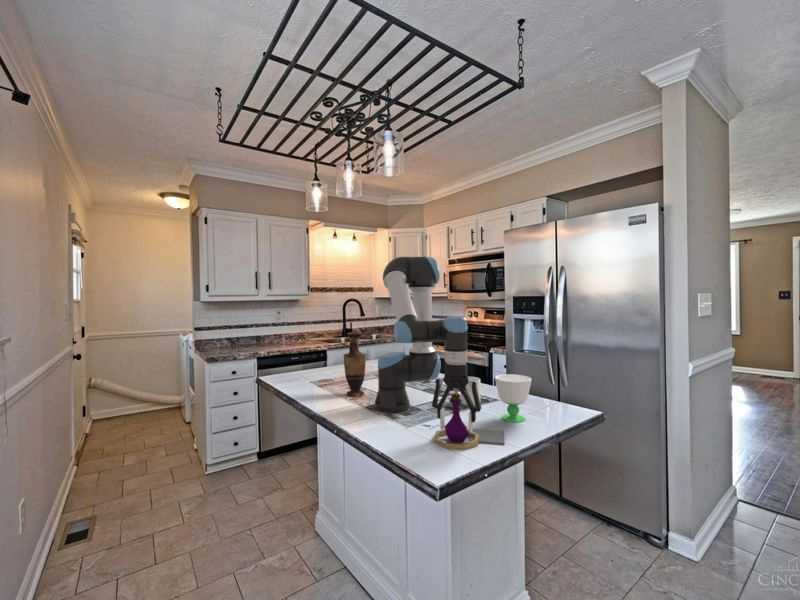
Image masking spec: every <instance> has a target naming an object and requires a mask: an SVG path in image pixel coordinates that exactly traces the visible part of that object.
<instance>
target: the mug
mask: <svg viewBox="0 0 800 600" xmlns="http://www.w3.org/2000/svg"><path fill="white" fill-rule="evenodd" d="M468 379H469V380H473V381H474V380H476V381H477V391H478V395H479V400H480V401H481V378H479V377H476V376H468ZM466 389H467V392H468V394H469V396H470V398H471V400H472V402H473V404H474V406H475V402H474V397H473V393H472V387H470V384H469V383H468V384H467V385H466ZM458 394H460V399H461V400H462V402H460V404H461V405H463V406H466V407H468V405H467V403H466V400H465V398H464V396H463V395H462V393H461V391H460V392H459V393H458ZM475 407H476V406H475Z"/></svg>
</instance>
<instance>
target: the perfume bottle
mask: <svg viewBox="0 0 800 600" xmlns="http://www.w3.org/2000/svg"><path fill="white" fill-rule="evenodd" d="M453 390H454V391H453V392H454V393H452V394H451V396H450V397H451V398H450V399H449V402H450V403H451V405H452V407H453V408H452V409H453V410H452V411H453V412H452V417H451V418H450V419H449V421H448V422H447V423H445V427H444V429H445V432H446V435H445V436H446V437H447V438H448V440H449V441H450V442H452V443H465V441H466V440H467V438H468V437H470V436H469V433H468V430H469V429H468V427H467V425H466V424H465V423H464V422H463V420H462V417H461V414H460V408H459V407H460V404H461V402H462V400H461V399H460V394H458V393H459V389H458V388H453ZM467 429H468V430H467Z"/></svg>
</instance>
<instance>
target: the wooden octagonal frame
mask: <svg viewBox="0 0 800 600" xmlns="http://www.w3.org/2000/svg"><path fill="white" fill-rule="evenodd" d="M467 430H468V433H469V428H467ZM471 435H472V436H474V437H475V439H474V440H473V441H470V440H469V441H466V442H449V441H446V440H444V439H442V438H440V437H443V436H447V435H446V432H445V428H443V430H442V429H439V430H437V431H435V434H434V436H433V442H434V443H435V444H436V445H439V446H440V447H442V448H444V449H453V450H463V451H464V450H467V449H471V448H474V447H478V446H479V443H478V441H479V434H477V433H475V432H473V431H472V432H471V433H469V436H468V437H470V438H471Z"/></svg>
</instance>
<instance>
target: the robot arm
mask: <svg viewBox="0 0 800 600" xmlns="http://www.w3.org/2000/svg"><path fill="white" fill-rule="evenodd" d="M440 279H441V277H440V267H439V264H438V262H437V259H435V258H434V257H432V256H431V257H430V256H398V257H395V258H393V259H392V260H391V261H389V262H388V263H387V264H386V266H385V267H384V269H383V273H382V280H383V281H382V282H383V285H384V287H385V288H386V289H387V290H388V293H389V297H390V301H391V304H392V308H393V311H394V315H395V317H396V322H395V323H394V324H393V338H394V341H395V342H396V343H398V344H411V343H412V346H411V348H410V349H409V350H408V351H409V352H408V354H406V352H404V351H392V352H386V353H384V354H381V355H380V356H379V357H378V359H377V362H378V363H377V369H378V370H377V371H378V373H377V374H378V377H377V379H378V380H377V381H378V382H377V383H378V389H377V390H378V391H377V394H376V397H375V399H374V400H375V401H374V409H375V410H376V411H378V412H383V413H399V412H404V411H406V410H409V409H410V408H411V407H410V406H411V405H410V403H411V402H410V399H409V395H408V393H407V388H406V383H415V382H429V381H435V388H434V393H433V398H432V403H431V407H432V408H435V409H436V410H437V419H439V420H440V421H439V423H440V424H439V425H440V429H439V430H443V429H445V425H446V423H445V422H446V420H445V407H443V406H444V404H445V402H446V400H447V398H448V396H449V394H450V392H454V390H453V388H458V389H459V392H460V391H461V393H462V395H463V396H464V398H465V400H466V403H467V405H468V406H467V407H468V408H469V412H468V430H469V433H471V432H472V431H473V429H474V427H473V425H474V424H473V423H476V419H477V415H476V413H477V412H478V413H479V412H480V411H481V410H482V405H481V399H480V400H479V395H478V391H477V381H476V380H474V381H473V380H469V379H468V377H469V376H468V364H467V362H468V329H469V327H468V319H467V317H465V316H457V315H456V316H452V315H451V316H446V317H445V318H444V319H438V320H433V304H432V303H433V301H432V299H433V296H432V293H433V291H434V290H435V289H436V285H437V284H438V283H439V282H440ZM409 290H410V292H411V295H410V292H409ZM438 342H439V343H440V342H441V343H442V342H444V344H443V345H444V362H445V363H444V376H443V377H439V376H440V373H441V363H442V362H441V356H440V355H439V354H438V353H437V351H436V348H434V347H433V343H438ZM443 383H444V384H445V385H446V389H445V391H444V393H443V394H442V397H441V399H440V400H439V398H440V392H441V387H442V385H443ZM468 383H469V384H470V387H472V393H473V397H474V402H475V406H474V404H473V402H472V400H471V398H470V396H469V394H468V392H467V389H466V385H467V384H468ZM438 402H439V403H438Z"/></svg>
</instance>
